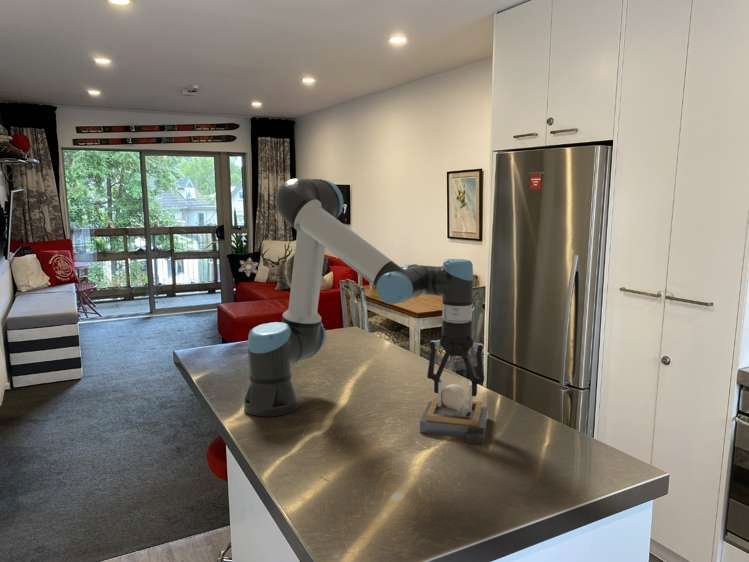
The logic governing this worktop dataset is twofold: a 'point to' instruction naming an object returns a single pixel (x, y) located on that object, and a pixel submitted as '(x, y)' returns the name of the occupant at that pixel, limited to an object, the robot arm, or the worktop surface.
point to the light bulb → (456, 399)
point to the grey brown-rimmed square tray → (455, 422)
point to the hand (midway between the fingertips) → (455, 406)
